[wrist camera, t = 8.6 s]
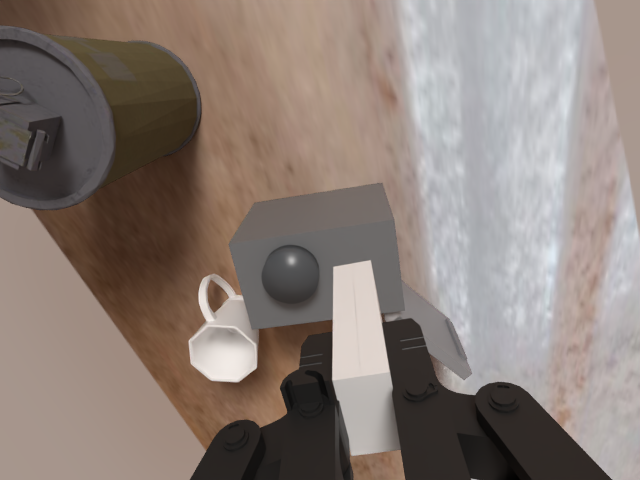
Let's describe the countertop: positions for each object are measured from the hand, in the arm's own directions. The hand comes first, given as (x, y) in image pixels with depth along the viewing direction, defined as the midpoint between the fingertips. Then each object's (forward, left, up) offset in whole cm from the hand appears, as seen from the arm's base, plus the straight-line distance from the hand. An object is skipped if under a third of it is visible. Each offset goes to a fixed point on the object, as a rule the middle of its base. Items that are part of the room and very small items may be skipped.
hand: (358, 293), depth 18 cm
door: (+15, +5, -26) cm, 30 cm away
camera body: (+7, -4, -27) cm, 28 cm away
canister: (-9, -18, -27) cm, 34 cm away
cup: (+14, -15, -27) cm, 34 cm away
